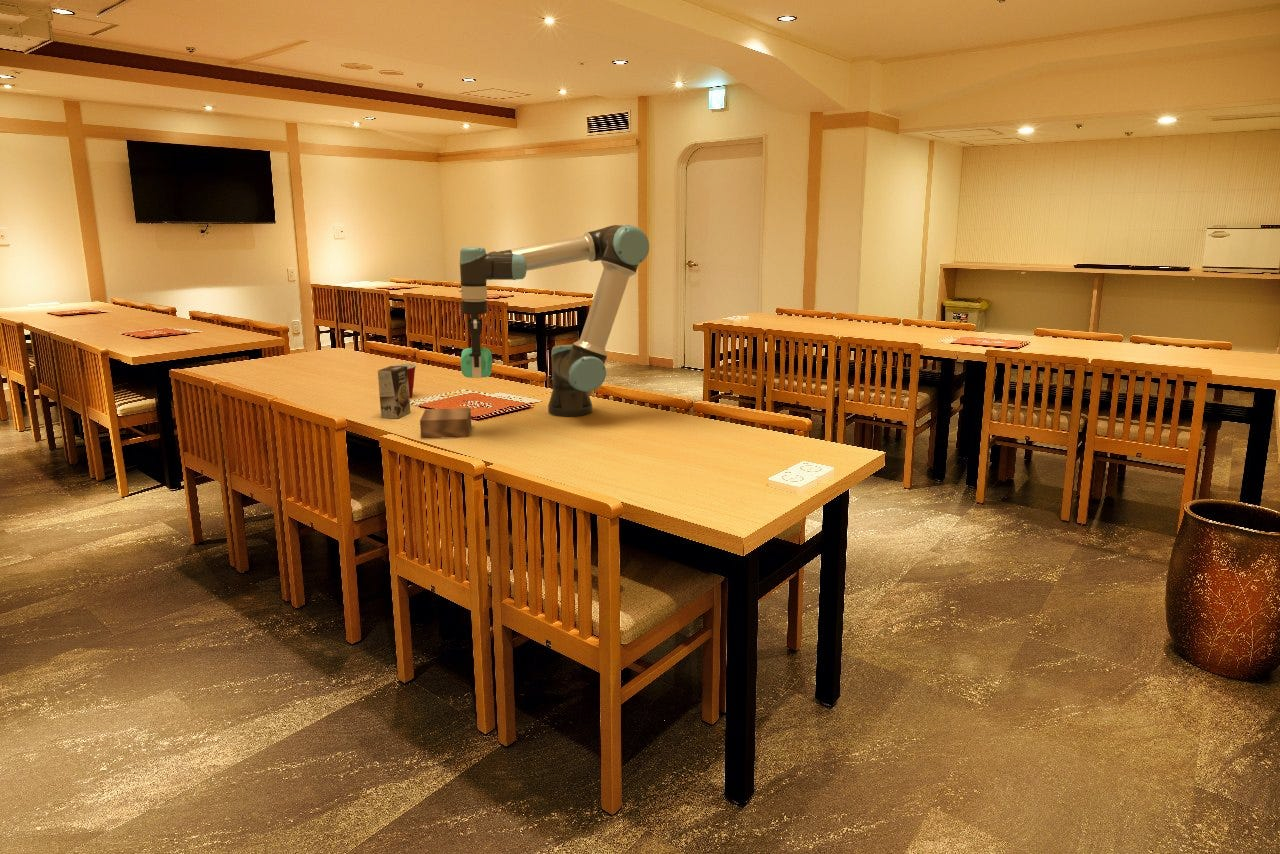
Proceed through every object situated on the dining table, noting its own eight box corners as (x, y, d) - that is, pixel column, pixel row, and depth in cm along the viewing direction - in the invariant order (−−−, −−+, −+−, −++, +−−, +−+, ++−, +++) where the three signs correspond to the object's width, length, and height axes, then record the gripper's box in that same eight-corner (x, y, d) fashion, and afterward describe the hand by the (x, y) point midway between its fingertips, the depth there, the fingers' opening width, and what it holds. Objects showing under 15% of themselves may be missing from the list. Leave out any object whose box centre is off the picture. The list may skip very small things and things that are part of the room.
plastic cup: (387, 395, 295) (385, 363, 292) (418, 393, 298) (415, 361, 295) (388, 401, 285) (385, 368, 282) (419, 399, 288) (416, 367, 285)
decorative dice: (461, 377, 238) (460, 351, 236) (466, 372, 246) (465, 347, 244) (487, 378, 238) (486, 351, 236) (492, 373, 246) (491, 347, 244)
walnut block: (471, 426, 254) (470, 407, 252) (468, 438, 241) (467, 418, 239) (426, 427, 252) (425, 409, 250) (421, 439, 239) (419, 420, 237)
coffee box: (398, 419, 261) (394, 370, 257) (380, 418, 262) (376, 370, 258) (411, 412, 270) (408, 365, 266) (394, 411, 271) (390, 365, 267)
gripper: (461, 296, 246) (463, 368, 251) (461, 304, 225) (464, 381, 231) (485, 296, 247) (488, 367, 253) (488, 304, 227) (490, 381, 232)
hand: (476, 374), depth 242 cm, fingers closed on decorative dice, 9 cm apart
